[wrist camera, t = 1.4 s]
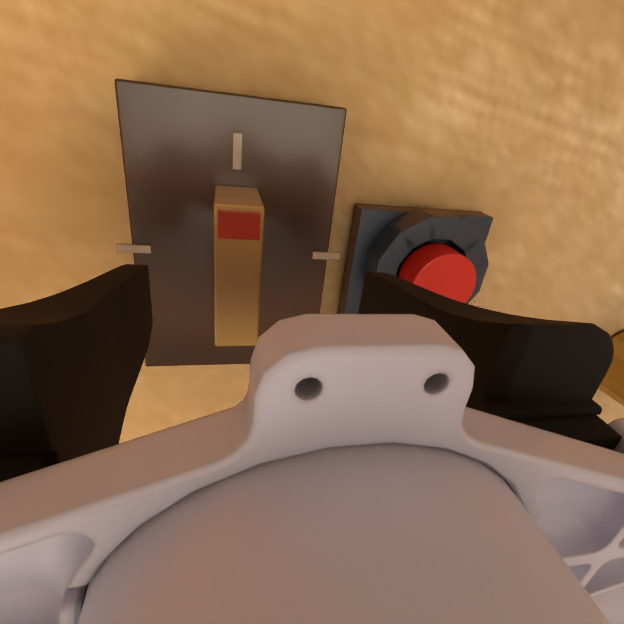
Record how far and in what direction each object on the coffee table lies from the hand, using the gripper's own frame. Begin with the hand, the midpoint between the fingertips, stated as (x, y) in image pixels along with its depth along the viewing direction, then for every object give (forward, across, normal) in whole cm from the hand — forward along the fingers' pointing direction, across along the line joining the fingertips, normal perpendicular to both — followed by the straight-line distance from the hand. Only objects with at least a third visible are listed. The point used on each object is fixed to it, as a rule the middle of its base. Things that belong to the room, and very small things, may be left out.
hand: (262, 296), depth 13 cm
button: (+6, -10, +1) cm, 12 cm away
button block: (+9, -10, +3) cm, 14 cm away
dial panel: (+9, +1, +1) cm, 9 cm away
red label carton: (+6, +1, +1) cm, 6 cm away
